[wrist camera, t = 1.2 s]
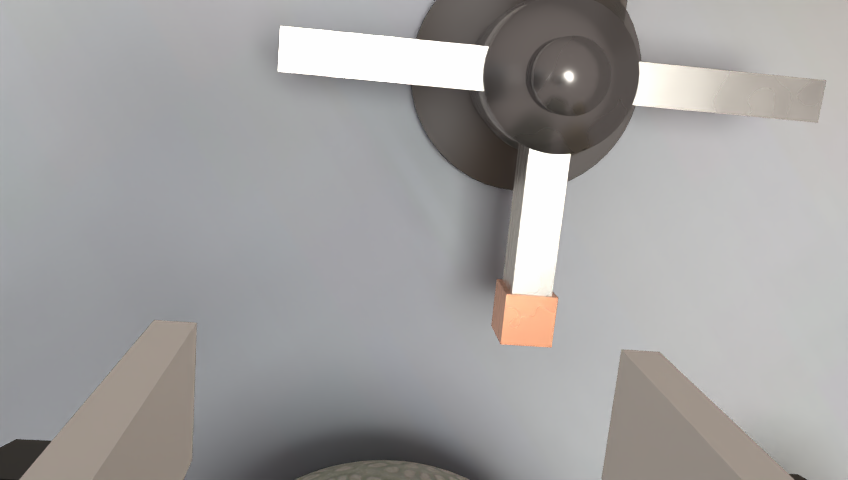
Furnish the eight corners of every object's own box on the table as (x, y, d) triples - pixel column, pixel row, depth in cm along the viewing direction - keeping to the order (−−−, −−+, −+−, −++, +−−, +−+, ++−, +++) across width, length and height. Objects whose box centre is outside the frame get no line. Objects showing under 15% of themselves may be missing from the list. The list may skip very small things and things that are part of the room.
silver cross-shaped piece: (278, 290, 30) (257, 344, 24) (307, -213, 27) (290, -297, 21) (714, 320, 32) (795, 377, 26) (798, -150, 28) (915, -210, 22)
